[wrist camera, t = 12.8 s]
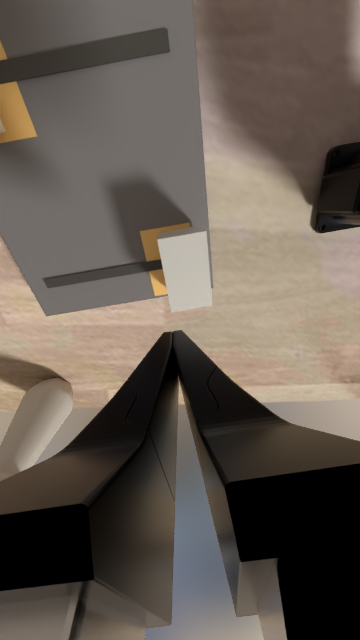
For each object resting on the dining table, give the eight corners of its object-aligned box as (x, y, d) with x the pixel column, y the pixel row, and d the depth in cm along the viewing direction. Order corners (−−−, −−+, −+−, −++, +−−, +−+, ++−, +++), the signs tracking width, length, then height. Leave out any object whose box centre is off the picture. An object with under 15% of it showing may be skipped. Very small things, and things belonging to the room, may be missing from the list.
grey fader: (197, 226, 15) (206, 231, 12) (203, 286, 18) (212, 305, 14) (158, 232, 15) (157, 239, 12) (170, 292, 18) (171, 312, 14)
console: (183, -3, 12) (188, -65, 9) (207, 278, 21) (213, 288, 18) (-68, 46, 12) (-134, 0, 10) (60, 303, 21) (45, 317, 19)
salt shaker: (26, 376, 26) (-82, 505, 15) (68, 369, 26) (-7, 494, 15) (47, 404, 29) (-29, 531, 18) (85, 398, 29) (34, 521, 17)
